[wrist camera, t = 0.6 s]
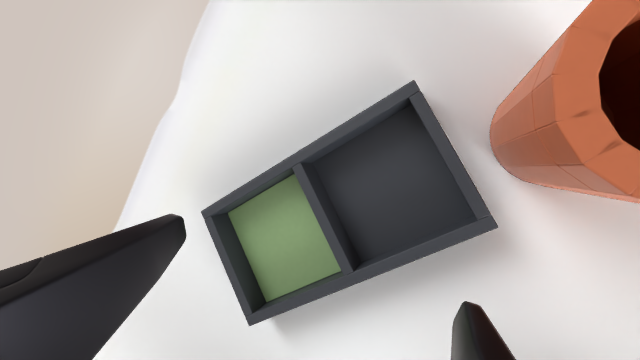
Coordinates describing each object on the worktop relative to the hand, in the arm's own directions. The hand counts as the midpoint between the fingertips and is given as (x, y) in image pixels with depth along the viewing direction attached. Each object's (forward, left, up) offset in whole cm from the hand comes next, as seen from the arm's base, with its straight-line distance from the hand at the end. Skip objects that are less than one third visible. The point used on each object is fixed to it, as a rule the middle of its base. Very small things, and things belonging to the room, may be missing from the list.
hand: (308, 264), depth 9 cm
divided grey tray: (+2, +4, -14) cm, 14 cm away
